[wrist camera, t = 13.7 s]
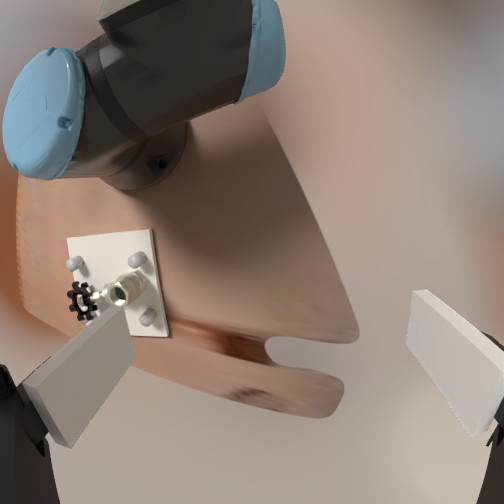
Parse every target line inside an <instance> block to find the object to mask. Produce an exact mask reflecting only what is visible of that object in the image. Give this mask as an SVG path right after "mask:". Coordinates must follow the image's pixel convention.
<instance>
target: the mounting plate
mask: <svg viewBox="0 0 504 504" xmlns="http://www.w3.org/2000/svg"><path fill="white" fill-rule="evenodd" d="M67 243H68V249H69V255H70V259H69V260H68V261H67V263H66V266H67V268H68V270H69V271H71V272H73V275H74V280H75V282H76V281H79V282H80V284H78V285H79V287H81V283H84V282H87V283H88V285H89V287H87V288H86V290H87V291H88V292H92V291H93V292H96V291H98V290H101V289H102V290H103V287H104V285H105V284H107V283H110V282H115V280H116V279H117V278H118V277H119V276H120V275H122V274H124V273H128V272H131V271H134V270H137V269H138V270H140V271H141V272H142V273H143V274H144V275H145V276H146V277H147V287H146V290H145V291H144V292H143V293H141V295H140V297H139V298H138V299H137V300H136V301H134V302H132V303H130V304H129V305H128V306H125V307H124V311H125V315H126V319H127V323H128V327H129V331H130V335H134V336H158V337H168V335H169V330H168V325H167V320H166V315H165V310H164V304H163V299H162V293H161V288H160V282H159V276H158V270H157V263H156V256H155V250H154V242H153V235H152V229H143V230H133V231H124V232H114V233H105V234H96V235H88V236H79V237H71V238H68V239H67ZM81 296H82V295H78V297H81ZM95 304H96V305H97V306H98V310H97V311H93V312H92V311H91V313H90V314H91V315H94V319H93V320H95V319H96V318H97V317H98V316H99V315H101V314H102V313H103V312H104V311H105V310H107V309H108V308H109V307H110V306H112V307H115V306H114V305H113V304H112V303H109V302H107V301H106V300H105V301H103V302H100V303H96V302H95ZM95 304H94V305H95ZM81 309H82V310H83V311H86V310H87V309H88V307H82V306H81ZM84 317H85V318H86V316H85V315H84ZM93 320H90V321H88V320H87V319H85V320H84V321H81V322H82V323H84V324H86V326H87V325H89V324H90V323H91V322H92V321H93Z"/></svg>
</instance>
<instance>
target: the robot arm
mask: <svg viewBox="0 0 504 504" xmlns="http://www.w3.org/2000/svg"><path fill="white" fill-rule="evenodd" d="M97 20H98V22H99V23H100V25H101V26H102V28H103V30H104V31H105V33H104V34H103V35H101V36H99V37H98V38H96V39H95V40H93V41H91V42H90V43H88V44H87V45H85V46H84V47H82V48H81V49H80V50H78V51H76V52H74V50H72V49H71V48H68V47H60V48H55V47H52V48H49V49H46V50H44V51H42V52H40V53H39V54H37V55H36V56H35V57H34V58H33V59H32V60H31V61H29V63H28V64H27V65H26V66H25V67H24V69H23V70H22V71H21V73H20V74H19V76H18V77H17V79H16V81H15V83H14V85H13V87H12V90H11V92H10V94H9V97H8V101H7V105H6V108H5V112H4V118H3V143H4V148H5V152H6V155H7V158H8V160H9V162H10V164H11V165H12V167H13V168H14V169H15V170H16V171H18V172H19V173H20V174H21V175H23V176H25V177H28V178H36V179H42V180H53V179H61V178H89V177H99V178H100V179H102V180H103V181H105V182H106V183H107V184H109V185H111V186H113V187H116V188H119V189H124V190H136V189H144V188H147V187H150V186H153V185H155V184H157V183H158V182H160V181H161V180H163V179H164V178H165V177H166V176H167V175H168V174H169V173H170V172H171V171H172V170H173V169H174V167H175V166H176V164H177V163H178V161H179V159H180V157H181V155H182V152H183V150H184V146H185V141H186V125H185V122H187V121H189V120H192V119H194V118H196V117H199V116H201V115H204V114H206V113H208V112H211V111H214V110H216V109H219V108H221V107H224V106H226V105H229V104H232V103H233V104H238V103H240V102H242V101H243V100H244V99H245V98H247V97H250V96H252V95H255V94H257V93H260V92H263V91H265V90H268V89H270V88H272V87H273V86H274V85H275V84H276V83H277V82H278V81H279V79H280V77H281V76H282V73H283V70H284V65H285V54H286V53H285V52H286V51H285V36H284V29H283V24H282V19H281V15H280V11H279V8H278V5H277V2H275V1H274V0H103V2H102V4H101V7H100V9H99V12H98V15H97ZM405 344H406V346H407V347H408V348H409V350H410V351H411V352H412V354H413V355H414V357H415V358H416V359H417V361H418V362H419V363H420V365H421V366H422V367H423V369H424V370H425V371H426V373H427V374H428V376H429V377H430V378H431V380H432V381H433V383H434V384H435V385H436V387H437V388H438V390H439V391H440V393H441V394H442V395H443V397H444V398H445V400H446V401H447V403H448V404H449V406H450V407H451V408H452V410H453V411H454V413H455V414H456V416H457V417H458V419H459V421H460V422H461V423H462V425H463V427H464V428H465V430H466V431H467V433H468V435H469V436H470V438H472V437H474V436H476V435H478V434H481V433H483V432H485V431H487V430H488V428H489V426H490V424H491V422H492V420H493V419H494V418H495V419H496V421H497V422H498V425H497V427H496V429H495V430H494V432H493V434H492V436H491V437H490V439H489V441H488V443H487V445H486V446H489V445H490V443H491V442H492V441H493V443H492V448H491V453H490V457H489V462H488V466H487V470H486V474H485V478H484V481H483V484H482V488H481V491H480V494H479V497H478V501H477V503H476V504H504V346H503V345H501V344H499V342H498V341H497V340H495V339H494V338H493V337H492V336H490V335H488V334H485V333H483V332H480V331H479V330H478V329H476V328H475V327H474V326H473V325H472V324H470V323H469V322H468V321H467V320H465V319H464V318H463V317H462V316H460V315H459V314H458V313H457V312H455V311H454V310H453V309H452V308H450V307H449V306H448V305H447V304H445V303H444V302H442V301H441V300H440V299H439V298H437V297H436V296H435V295H433V294H432V293H431V292H429V291H428V290H427V289H424V290H417V291H413V292H412V302H411V310H410V318H409V325H408V332H407V337H406V343H405ZM136 357H137V356H136V353H135V349H134V346H133V342H132V338H131V335H130V331H129V327H128V323H127V319H126V315H125V311H124V307H112V306H110V307H109V308H108V309H107V310H105V311H104V312H103V313H102V314H101V315H99V316H98V317H97V318H96V319H95V320H93V321H92V322H91V323H90V324H89V325H87V326H86V327H85V328H84V329H83V330H81V331H80V332H79V333H78V334H77V335H76V336H74V337H73V338H72V339H71V340H70V341H69V342H67V343H66V344H65V345H64V346H63V347H62V348H60V349H59V350H58V351H57V352H56V353H55V354H54V355H52V356H51V357H49V358H48V359H47V360H46V361H45V362H43V363H42V365H40V366H39V367H38V368H37V370H35V371H33V372H32V373H31V374H30V375H29V376H28V377H27V378H26V379H25V380H23V381H22V382H21V383H20V384H19V385H18V386H17V387H16V386H15V384H14V382H13V379H12V377H11V375H10V373H9V371H8V369H7V367H6V366H5V365H2V364H0V504H60V501H59V497H58V493H57V488H56V484H55V479H54V474H53V469H52V463H51V457H50V450H49V444H48V441H47V440H46V438H45V436H46V434H47V433H48V432H49V433H50V434H51V436H52V438H53V439H54V441H55V442H56V443H57V444H60V445H62V446H65V447H68V448H72V447H73V445H74V444H75V443H76V441H77V440H78V438H79V437H80V435H81V434H82V432H83V431H84V429H85V428H86V427H87V425H88V424H89V422H90V421H91V419H92V418H93V417H94V415H95V414H96V412H97V411H98V410H99V408H100V406H101V405H102V404H103V403H104V401H105V400H106V398H107V397H108V395H109V394H110V393H111V391H112V390H113V389H114V387H115V386H116V384H117V383H118V382H119V380H120V379H121V378H122V376H123V375H124V373H125V372H126V371H127V369H128V368H129V367H130V365H131V364H132V363H133V361H134V360H135V358H136Z"/></svg>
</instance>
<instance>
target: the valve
mask: <svg viewBox="0 0 504 504" xmlns="http://www.w3.org/2000/svg"><path fill="white" fill-rule="evenodd" d="M78 284H80V282H79V281H76V282H73V283H72V287H73V289H74V290H70V291H68V292H67V296H68V297H69V298H71V299H72V302H73V304H71V305H70V306H69V309H70V311H71V312H74V311H77V312H78V315H77V319H78V320H79V321H84V320H85V319H87V320H88V321H90V320H93V319H94V315H91V314H90V313H91V311H92V312H93V311H97V310H98V306H97V305H96V304H95V302H96V303H100V302H103V301H105V300H106V301H107V302H109V303H112V304H113V305H114V306H115V307H125V306H128V305H129V304H130V303H132V302H134V301H136V300H137V299H138V298H139V297H140V295H141V293H143V292H144V291H145V290H146V287H147V277H146V276H145V275H144V274H143V273H142V272H141V271H140V270H138V269H137V270H134V271H131V272H128V273H124V274H122V275H120V276H119V277H118V278H117V279H116V280H115V282H110V283H107V284H105V285H104V287H103V290H102V289H101V290H98V291H96V292H93V291H92V292H88V291H87V290H86V288H87V287H89V285H88V283H87V282H84V283H81V287H79V285H78ZM77 295H82V296H81V297H79V304H80V305H81V306H82V307H88V309H87V310H86V311H83V310H81V309H80V307H79V306H78V303H77ZM94 304H95V305H94ZM84 315H85V316H86V318H85V317H84Z"/></svg>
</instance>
